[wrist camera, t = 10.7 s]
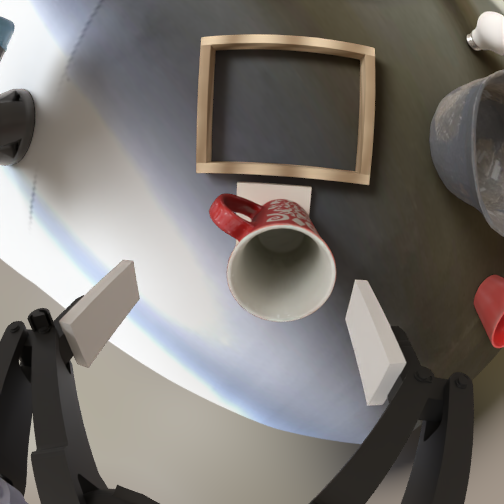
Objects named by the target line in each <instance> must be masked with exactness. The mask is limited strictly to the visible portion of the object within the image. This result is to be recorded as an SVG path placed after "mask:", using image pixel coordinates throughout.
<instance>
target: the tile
mask: <svg viewBox="0 0 504 504" xmlns="http://www.w3.org/2000/svg"><path fill="white" fill-rule="evenodd" d="M311 189H312V187H311V186H302V185H290V184H276V183H259V182H239V181H238V182H237V196H240V197H243V198H245V199H248V200H250V201H253V202H255V203H257V204H259V205H264V204H265V203H267V202H269V201H271V200H276V199H287V200H290V201H293V202H295V203H297V204H299V205H300V206H301V207H302V208H303V209H304V210H305V211H306V212H307V214H308V216H309V211H310V200H311ZM236 215H238V216H239V217H241V218H243V219H245V220H247V221H249V222H251V219H250V218H249V217H247V216H245V215H243V214H240V213H237V214H236ZM238 243H239V241H238V240H237V239H236V245H237V244H238Z"/></svg>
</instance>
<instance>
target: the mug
mask: <svg viewBox="0 0 504 504" xmlns="http://www.w3.org/2000/svg"><path fill="white" fill-rule="evenodd" d="M232 211H233V212H232ZM234 212H237V213H240V214H243V215H245V216H247V217H249V218H250V219H251V222H249V221H247V220H245V219H243V218H241V217H239V216H238V215H236V214H235V213H234ZM209 214H210V217H211V219H212V220H213V222H214V223H215V224H216V225H217V226H218V227H219V228H220V229H221V230H222V231H224V232H225V233H227V234H229V235H230V236H232V237H234V238H235V239H237V240H238V241H239V243H238V244H237V245H236V247H235V248H234V250H233V252H232V253H231V256H230V258H229V261H228V266H227V281H228V285H229V288H230V291H231V293H232V295H233V297H234V298H235V300H236V301H237V302H238V303H239V305H240V306H241V307H242V308H244V309H245V310H246V311H248V312H249V313H251V314H252V315H254V316H256V317H259V318H261V319H264V320H268V321H274V322H288V321H294V320H298V319H301V318H304V317H306V316H308V315H310V314H312V313H313V312H315V311H316V310H317V309H319V308H320V307H321V306H322V305H323V304H324V303H325V301H326V300H327V299H328V298H329V296H330V294H331V292H332V290H333V288H334V284H335V281H336V264H335V259H334V256H333V254H332V252H331V250H330V248H329V247H328V245H327V244H326V243H325V242H324V240H323V239H322V238H321V237H320V235H319V234H318V232H317V230H316V229H315V227H314V225H313V223H312V222H311V220H310V218H309V216H308V214H307V212H306V211H305V210H304V209H303V208H302V207H301V206H300V205H299V204H297V203H295V202H293V201H290V200H287V199H276V200H271V201H269V202H267V203H265V204H264V205H259V204H257V203H255V202H253V201H250V200H248V199H245V198H243V197H240V196H237V195H233V194H221V195H220V196H218V197H217V198H216V200H215V201H214V202H213V204H212V206H211V207H210V210H209Z"/></svg>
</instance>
